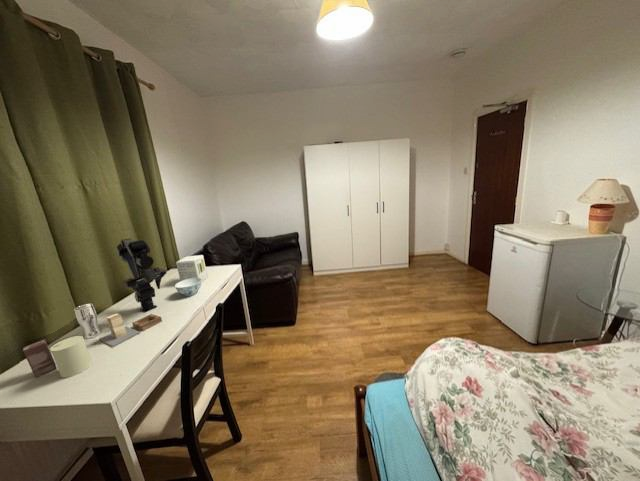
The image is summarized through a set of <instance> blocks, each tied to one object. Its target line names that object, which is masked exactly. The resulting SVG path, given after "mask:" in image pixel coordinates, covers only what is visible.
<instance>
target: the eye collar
mask: <svg viewBox="0 0 640 481" xmlns="http://www.w3.org/2000/svg"><path fill="white" fill-rule="evenodd" d="M162 322H163V319H162V316H159V315H157V314H154V313H150V314H148V315H146V316H144V317H142V318H140V319H138V320H135V321H133V322H132V326H133V329H134V328H135V329H136V330H138V331H139V330H140V331H142V332H144V331H146V330H148V329H150V328H152V327H154V326H156V325H158V324H160V323H162Z"/></svg>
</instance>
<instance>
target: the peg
mask: <svg viewBox="0 0 640 481" xmlns="http://www.w3.org/2000/svg"><path fill="white" fill-rule="evenodd" d="M106 320H107V323H108V327H109V330H110V333H112V336H113V337H114V338H116V339H117V338H119V337H121V336H123V335H125V334H127V333H126V330H125V325H124V320H123V318H122V315H121V314H120V313H115V314H112V315H110V316H107V317H106Z"/></svg>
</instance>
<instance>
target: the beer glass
mask: <svg viewBox="0 0 640 481" xmlns="http://www.w3.org/2000/svg"><path fill="white" fill-rule="evenodd" d="M73 310H74V315H75V318H76V320H77V322H78V324H79V325H80V327H81V328H82V330H83V332H84V334H83V335H84V338H85V339H87V340H88V339H92V338H95V337H97V336H100V335H101V333H102V331H101V329H100V327H99V325H98V315H97V311H96V309H95V307H94V304H93V303H91V302H90V303H85V304H81V305H79V306H77V307H75V308H74V309H73Z"/></svg>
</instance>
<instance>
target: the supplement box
mask: <svg viewBox="0 0 640 481" xmlns="http://www.w3.org/2000/svg"><path fill="white" fill-rule="evenodd" d="M204 257H205V256H204V255H203V254H199V255H198V254H197V255H188V256H184V257H182V258H181V259H179V260H177V261H176V262H175V264H176V267H177V273H178V277H179V280H180V281H183V280H186V279H190V278H201V284H202V283H203V282H204V281H206V280H207V279H208V278H209V277H208V271H207V268H206V263H205V258H204ZM180 281H179V282H180Z"/></svg>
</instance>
